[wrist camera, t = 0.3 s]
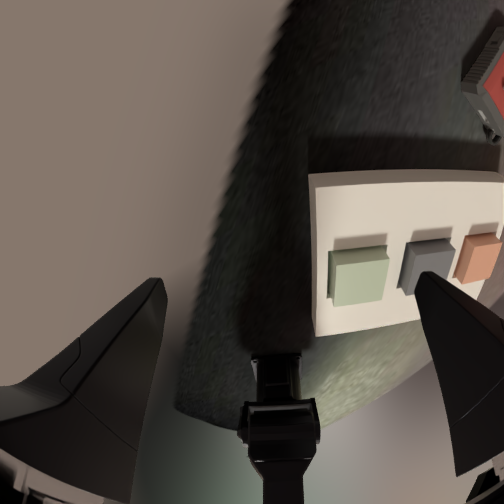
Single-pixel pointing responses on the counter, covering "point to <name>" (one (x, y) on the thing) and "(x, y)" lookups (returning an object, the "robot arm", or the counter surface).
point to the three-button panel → (394, 231)
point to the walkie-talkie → (488, 86)
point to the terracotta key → (477, 257)
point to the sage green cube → (357, 275)
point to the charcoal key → (425, 261)
